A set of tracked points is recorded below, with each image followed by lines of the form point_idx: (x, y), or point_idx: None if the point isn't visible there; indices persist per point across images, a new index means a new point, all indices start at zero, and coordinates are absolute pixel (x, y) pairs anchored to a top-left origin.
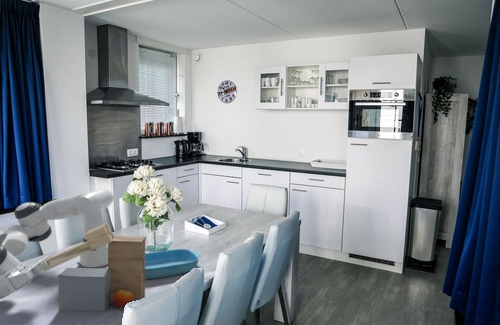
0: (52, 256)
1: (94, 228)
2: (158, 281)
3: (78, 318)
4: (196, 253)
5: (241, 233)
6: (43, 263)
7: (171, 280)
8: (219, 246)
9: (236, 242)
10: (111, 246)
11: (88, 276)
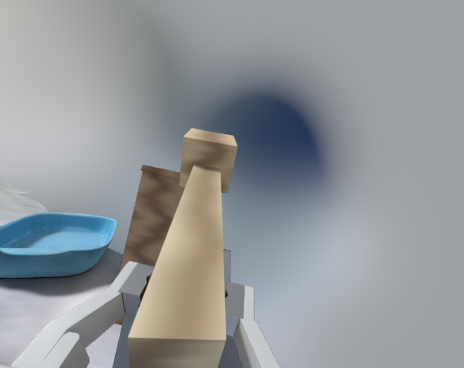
0: (125, 266)
1: (187, 133)
2: (110, 263)
3: None
4: (83, 214)
5: (6, 195)
6: (253, 303)
7: (119, 254)
8: (30, 210)
9: (38, 204)
10: (183, 188)
11: (229, 265)
